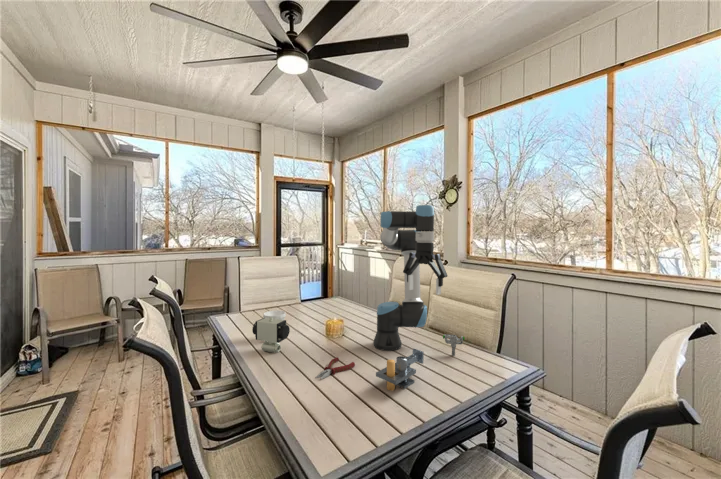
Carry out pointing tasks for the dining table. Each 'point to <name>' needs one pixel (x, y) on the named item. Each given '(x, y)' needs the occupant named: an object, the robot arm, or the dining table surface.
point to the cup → (275, 314)
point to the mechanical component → (453, 341)
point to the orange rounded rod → (390, 373)
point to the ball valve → (271, 333)
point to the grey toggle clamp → (403, 369)
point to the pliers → (331, 370)
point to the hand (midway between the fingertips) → (424, 292)
